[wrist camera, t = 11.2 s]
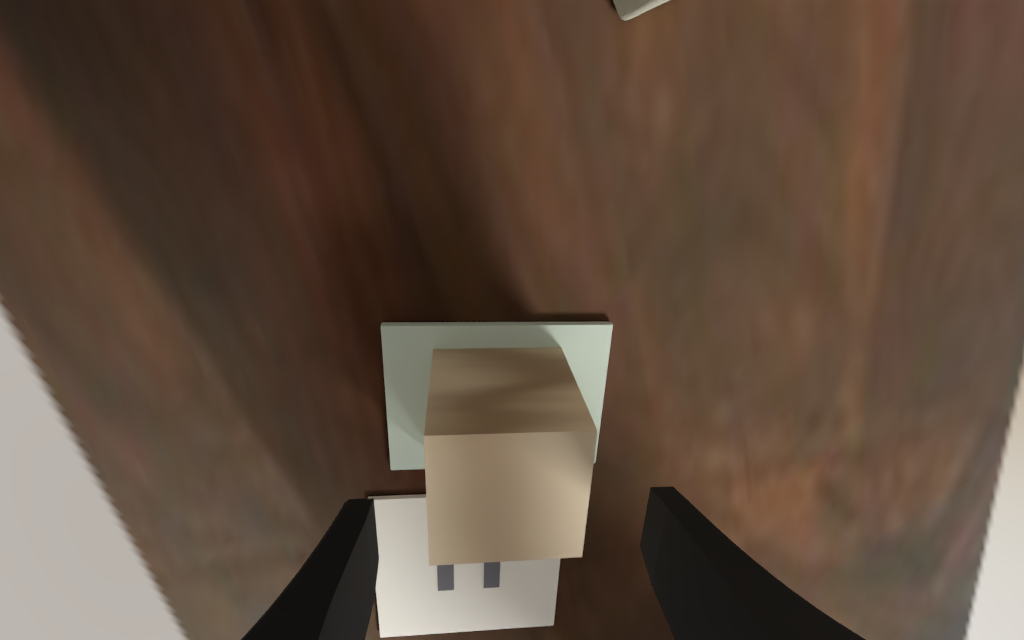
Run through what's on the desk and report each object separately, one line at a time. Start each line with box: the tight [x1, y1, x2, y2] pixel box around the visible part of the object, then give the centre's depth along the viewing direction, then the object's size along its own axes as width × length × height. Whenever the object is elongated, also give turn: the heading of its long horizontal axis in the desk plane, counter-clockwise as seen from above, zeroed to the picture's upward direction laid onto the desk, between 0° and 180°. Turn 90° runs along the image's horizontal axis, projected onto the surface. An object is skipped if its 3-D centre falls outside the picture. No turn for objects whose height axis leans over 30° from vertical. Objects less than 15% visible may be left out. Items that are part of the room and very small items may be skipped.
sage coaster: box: [381, 322, 613, 470], centre depth 18 cm, size 8×6×1 cm
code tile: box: [368, 494, 560, 638], centre depth 22 cm, size 8×8×1 cm
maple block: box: [424, 347, 597, 566], centre depth 16 cm, size 4×4×5 cm
